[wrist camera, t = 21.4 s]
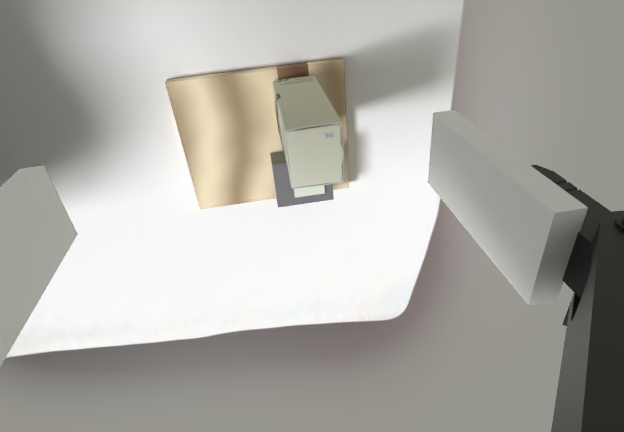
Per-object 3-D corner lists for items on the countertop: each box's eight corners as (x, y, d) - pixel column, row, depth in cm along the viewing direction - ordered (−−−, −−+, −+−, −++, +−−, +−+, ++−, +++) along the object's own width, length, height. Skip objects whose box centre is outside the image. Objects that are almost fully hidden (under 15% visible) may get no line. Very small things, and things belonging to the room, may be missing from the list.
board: (200, 203, 47) (200, 209, 46) (167, 79, 39) (165, 82, 38) (346, 182, 48) (348, 187, 47) (341, 58, 41) (343, 60, 40)
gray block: (276, 193, 46) (278, 208, 44) (270, 152, 44) (271, 165, 41) (328, 186, 47) (333, 200, 44) (325, 145, 44) (331, 157, 41)
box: (271, 79, 40) (282, 126, 29) (316, 74, 40) (344, 118, 29) (277, 131, 42) (290, 191, 32) (319, 126, 43) (346, 184, 32)
